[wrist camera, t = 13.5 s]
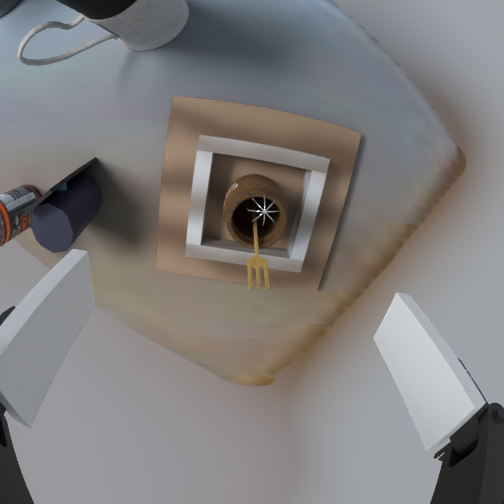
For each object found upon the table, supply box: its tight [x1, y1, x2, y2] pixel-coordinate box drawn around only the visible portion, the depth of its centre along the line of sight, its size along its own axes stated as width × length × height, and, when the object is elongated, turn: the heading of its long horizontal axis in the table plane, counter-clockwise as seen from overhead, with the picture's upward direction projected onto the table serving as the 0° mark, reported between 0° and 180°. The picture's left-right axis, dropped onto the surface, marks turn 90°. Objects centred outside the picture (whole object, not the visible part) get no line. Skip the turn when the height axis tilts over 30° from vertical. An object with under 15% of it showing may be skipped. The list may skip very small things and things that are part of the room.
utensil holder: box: [223, 174, 288, 290], centre depth 23 cm, size 6×6×12 cm
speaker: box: [21, 157, 102, 253], centre depth 24 cm, size 8×6×10 cm
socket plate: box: [157, 96, 362, 292], centre depth 28 cm, size 20×20×4 cm
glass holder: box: [18, 0, 189, 66], centre depth 14 cm, size 9×14×15 cm, turn 125°
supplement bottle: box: [0, 185, 40, 247], centre depth 23 cm, size 6×6×11 cm
